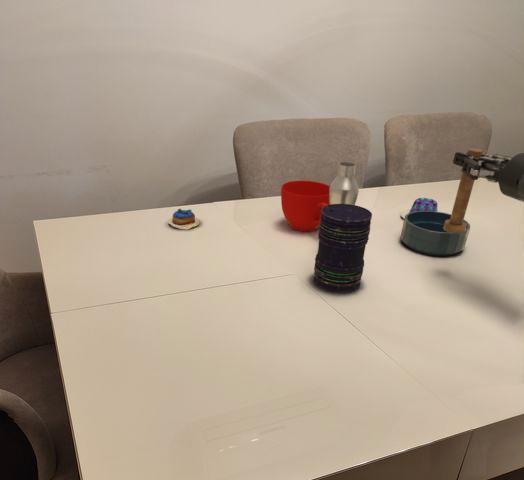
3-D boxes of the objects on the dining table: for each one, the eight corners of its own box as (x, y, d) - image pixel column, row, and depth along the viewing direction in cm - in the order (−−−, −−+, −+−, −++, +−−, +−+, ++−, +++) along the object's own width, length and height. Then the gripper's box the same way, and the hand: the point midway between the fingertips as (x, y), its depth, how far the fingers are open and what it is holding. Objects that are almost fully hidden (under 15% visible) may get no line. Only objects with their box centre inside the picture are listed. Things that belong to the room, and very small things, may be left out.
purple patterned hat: (441, 214, 142) (446, 196, 139) (447, 229, 133) (452, 210, 130) (399, 210, 144) (402, 191, 141) (401, 224, 134) (405, 205, 131)
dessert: (183, 229, 122) (174, 206, 121) (169, 238, 127) (160, 216, 126) (207, 223, 127) (198, 201, 127) (192, 232, 132) (183, 211, 132)
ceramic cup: (300, 245, 119) (304, 203, 114) (270, 220, 132) (272, 182, 126) (346, 238, 124) (352, 198, 118) (313, 215, 137) (317, 178, 131)
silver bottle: (344, 246, 120) (356, 160, 108) (353, 258, 114) (367, 168, 103) (318, 247, 119) (328, 160, 107) (325, 259, 113) (337, 168, 102)
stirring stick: (467, 229, 105) (490, 150, 96) (460, 235, 102) (483, 153, 93) (447, 224, 107) (468, 145, 98) (440, 230, 104) (460, 149, 95)
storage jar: (362, 275, 107) (374, 207, 99) (359, 296, 99) (371, 223, 91) (316, 269, 109) (323, 201, 100) (309, 289, 101) (317, 217, 92)
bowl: (471, 244, 125) (478, 221, 121) (450, 263, 114) (457, 238, 111) (414, 228, 132) (419, 206, 129) (389, 245, 122) (394, 221, 118)
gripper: (570, 155, 87) (491, 134, 100) (515, 162, 82) (439, 139, 94) (553, 198, 92) (480, 173, 104) (501, 207, 86) (430, 179, 98)
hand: (461, 157), depth 99 cm, fingers closed on stirring stick, 2 cm apart
